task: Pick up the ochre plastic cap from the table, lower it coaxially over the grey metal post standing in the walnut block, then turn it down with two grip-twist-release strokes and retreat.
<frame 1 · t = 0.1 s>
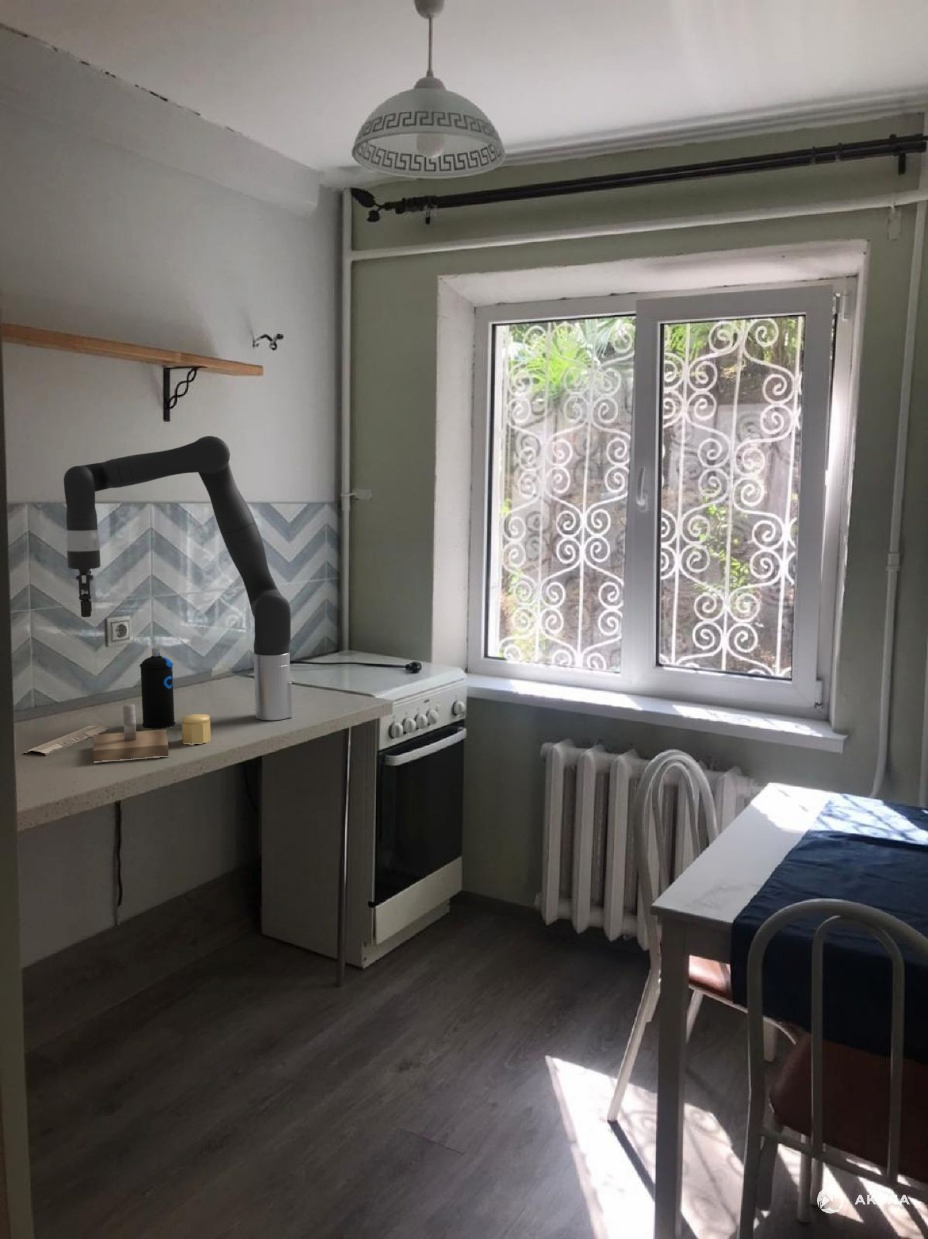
hand: (86, 614, 245), 29 cm above the table, tool pointing down, fingers open, 8 cm apart
aerosol can: (158, 725, 254), on the table
newspaper: (69, 745, 238), on the table
cap: (196, 741, 239), on the table
bolt base: (131, 752, 230), on the table
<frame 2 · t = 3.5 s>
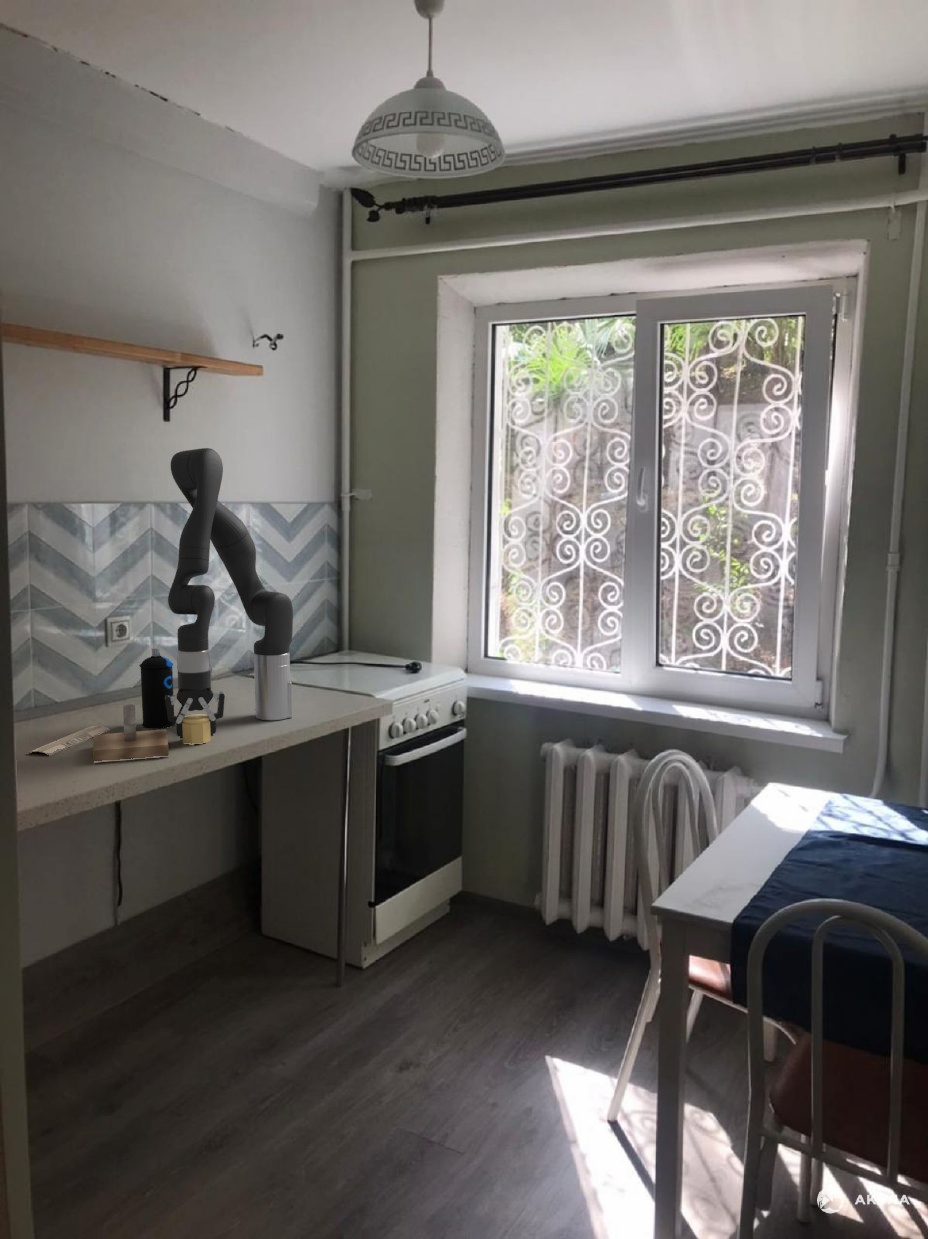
hand: (196, 736, 239), 1 cm above the table, tool pointing down, fingers closed on cap, 6 cm apart
cap: (196, 741, 239), on the table, touching gripper
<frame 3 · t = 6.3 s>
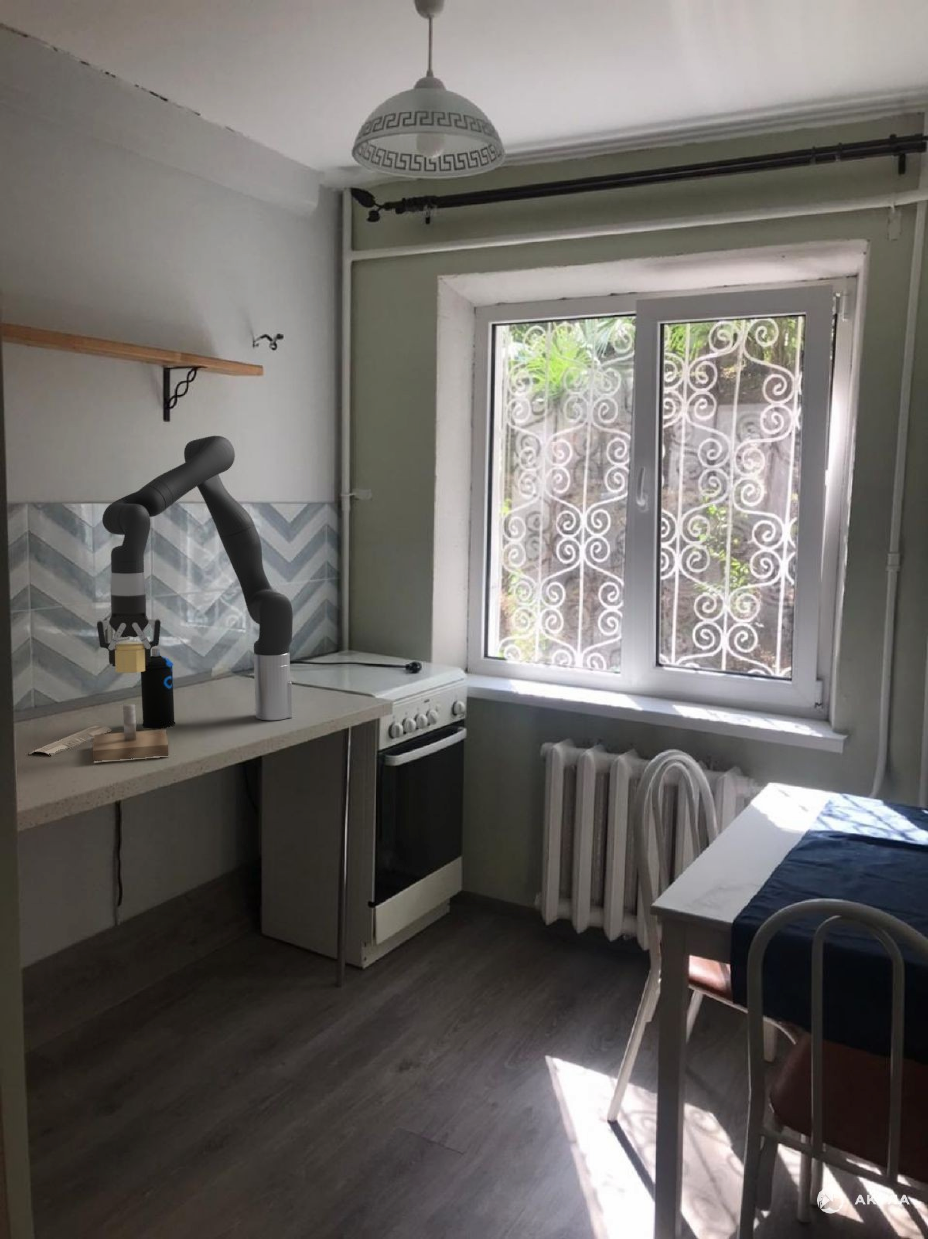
hand: (130, 665, 227), 20 cm above the table, tool pointing down, fingers closed on cap, 6 cm apart
cap: (130, 670, 227), point 19 cm above the table, touching gripper
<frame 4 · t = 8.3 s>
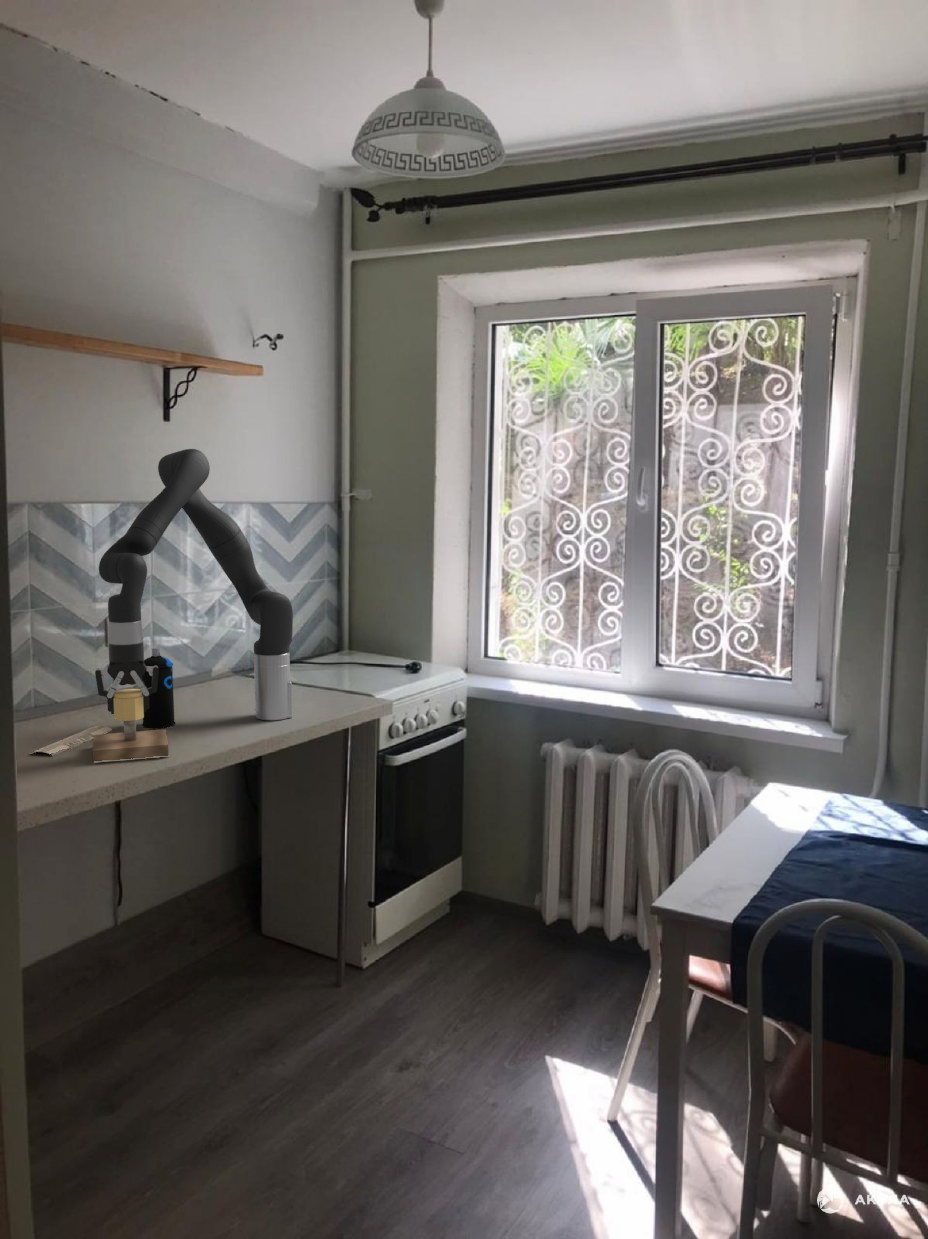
hand: (128, 712, 228), 10 cm above the table, tool pointing down, fingers closed on cap, 6 cm apart
cap: (129, 717, 228), point 8 cm above the table, touching gripper
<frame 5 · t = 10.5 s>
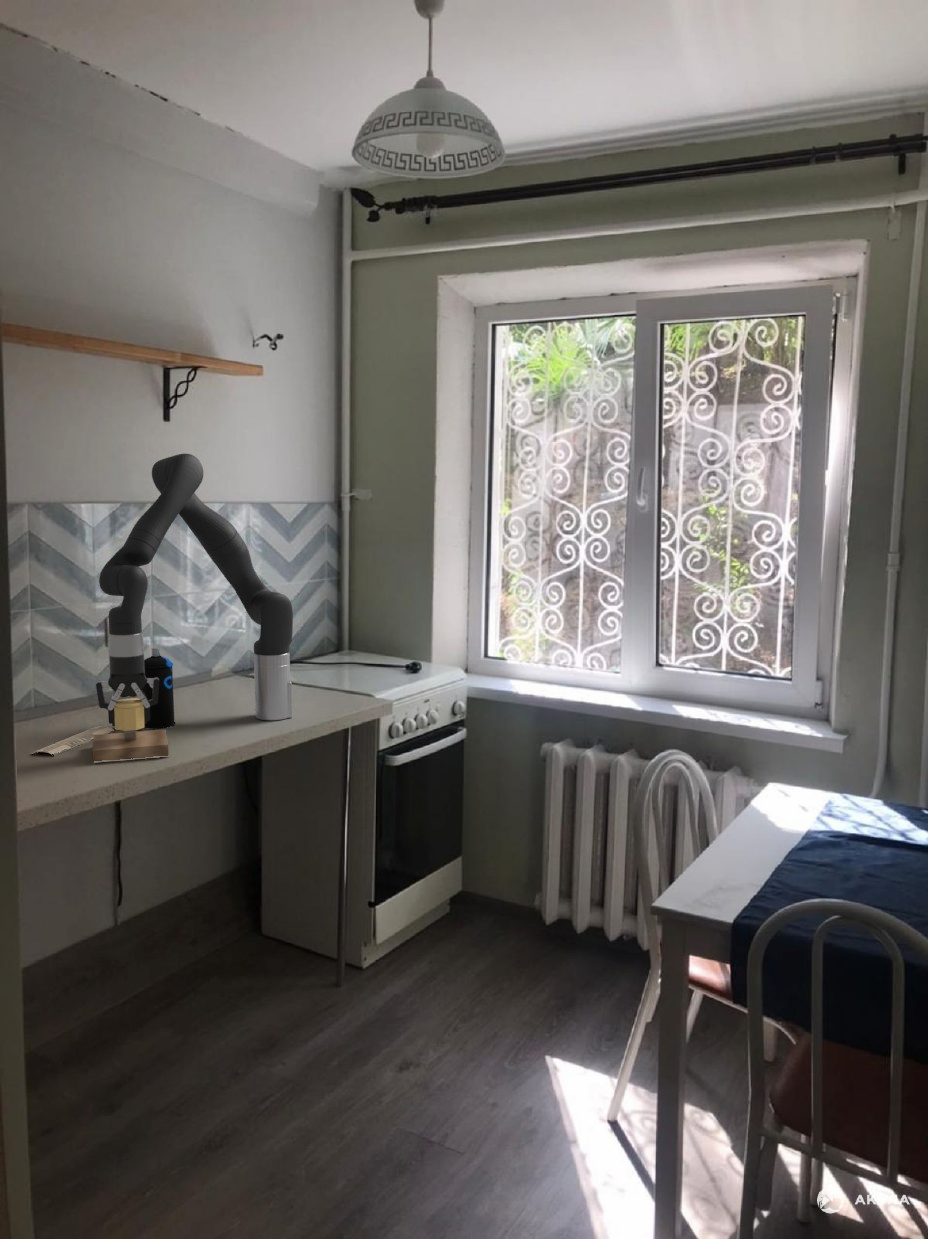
hand: (129, 723, 229), 7 cm above the table, tool pointing down, fingers closed on cap, 6 cm apart
cap: (129, 726, 229), point 6 cm above the table, touching bolt base, gripper
when the fingers open (7 cm above the table, at t = 12.0 s): cap stays where it is, resting on bolt base.
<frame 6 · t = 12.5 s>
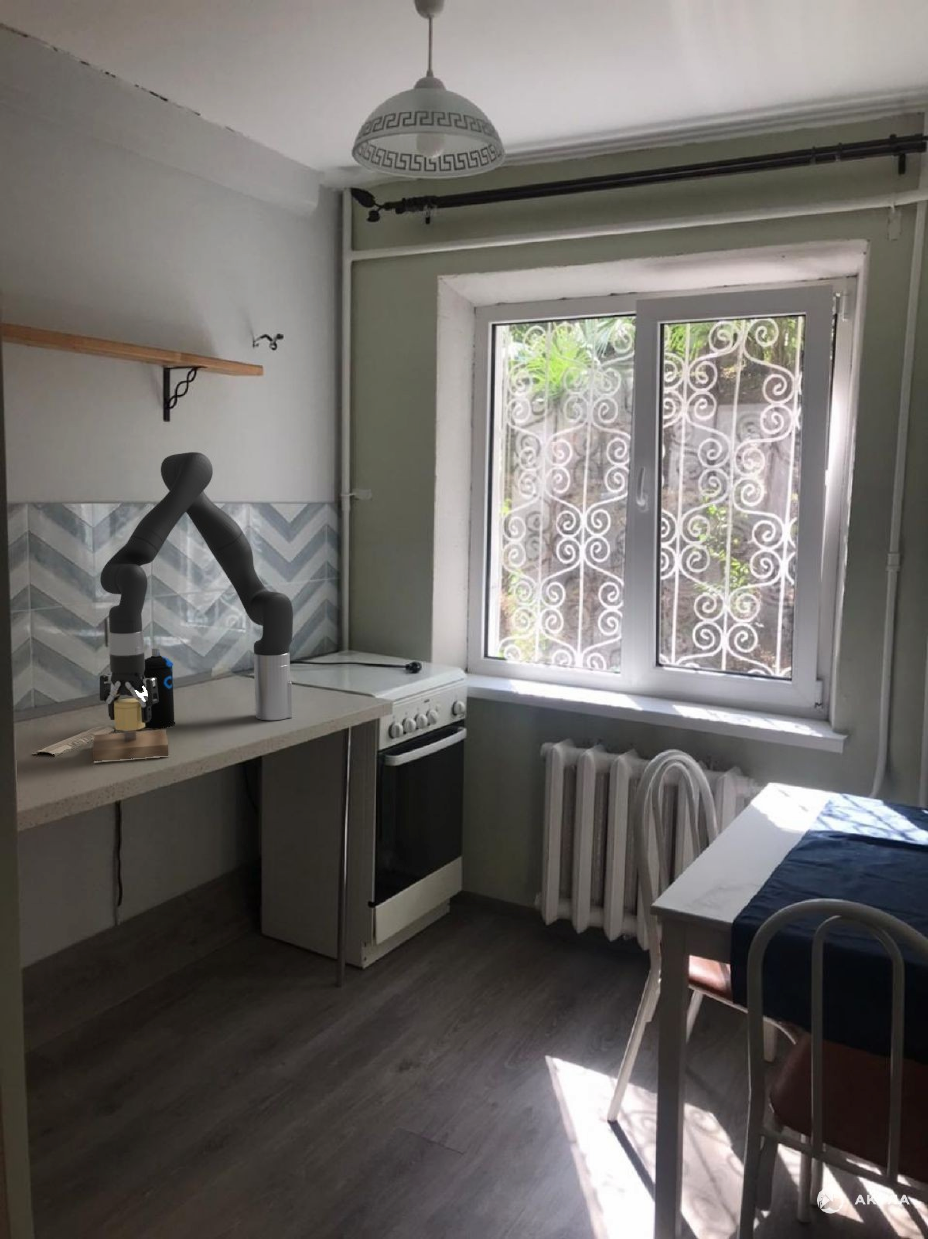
hand: (130, 720, 228), 8 cm above the table, tool pointing down, fingers open, 8 cm apart
cap: (130, 726, 229), point 6 cm above the table, touching bolt base
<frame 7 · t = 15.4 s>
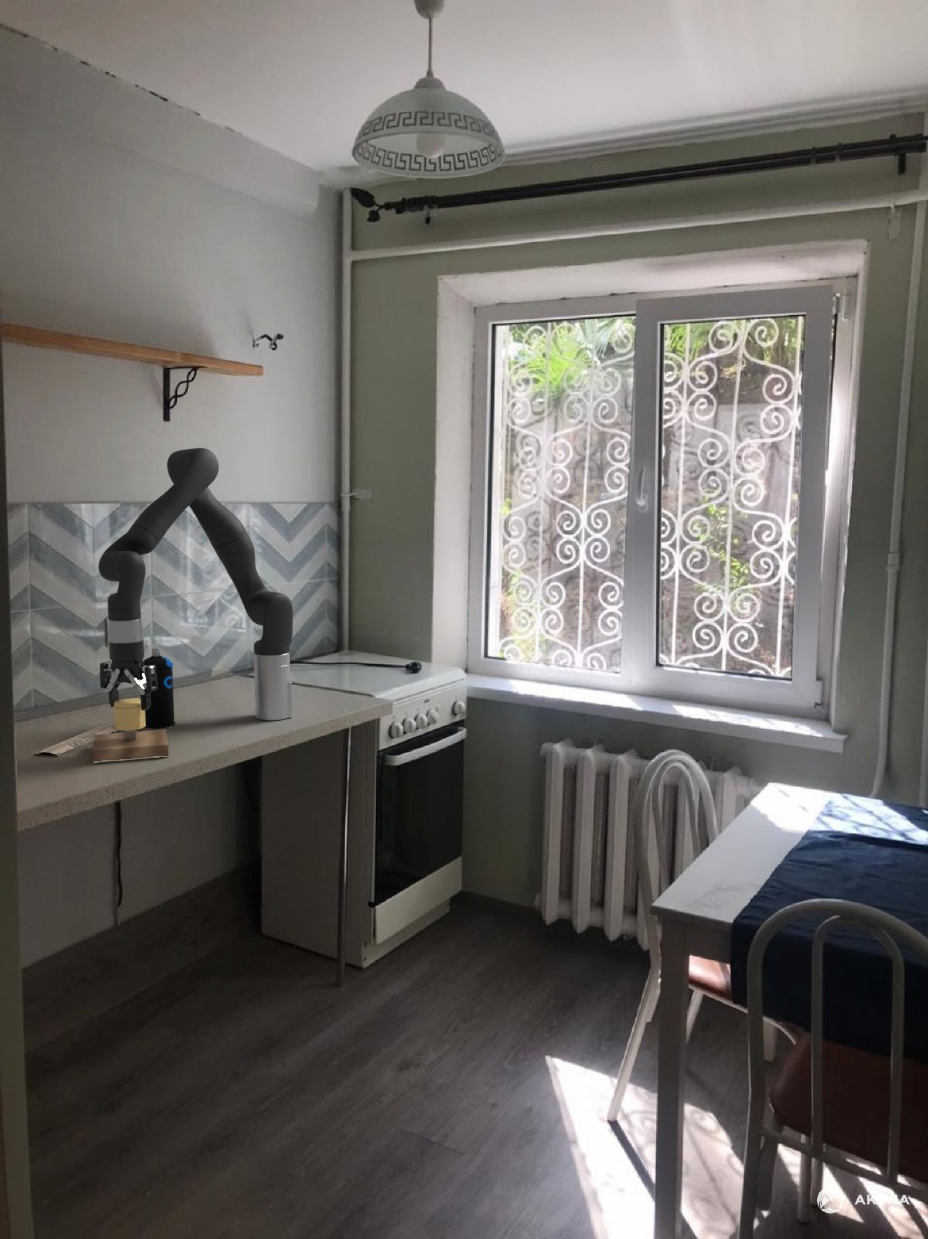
hand: (130, 708, 228), 10 cm above the table, tool pointing down, fingers open, 8 cm apart
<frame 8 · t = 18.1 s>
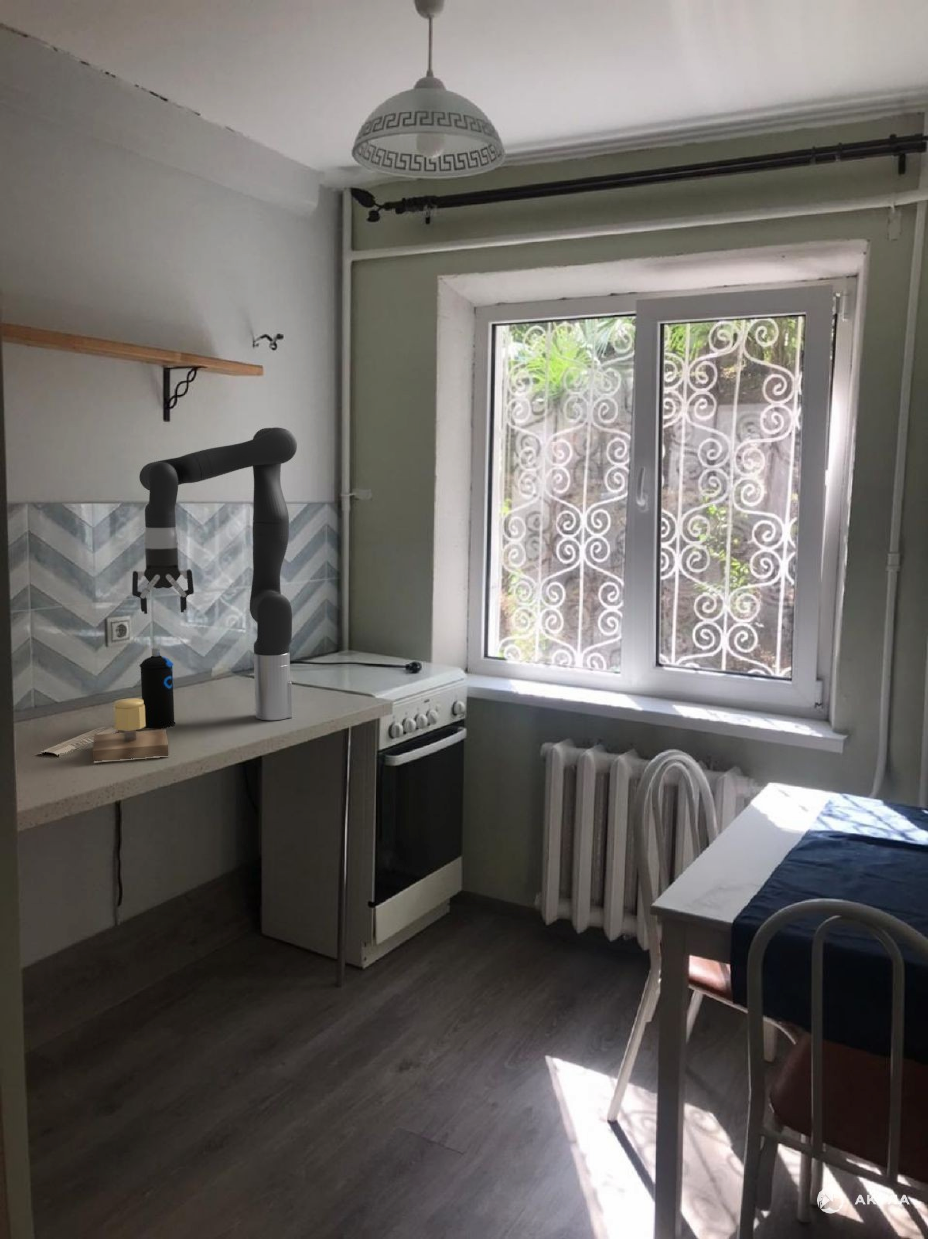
hand: (163, 612, 242), 30 cm above the table, tool pointing down, fingers open, 8 cm apart
at the end: cap 0.0 cm off-centre on the bolt base, point 6.0 cm above the bolt base's base; cap tilted 0°; the gripper is holding nothing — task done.
